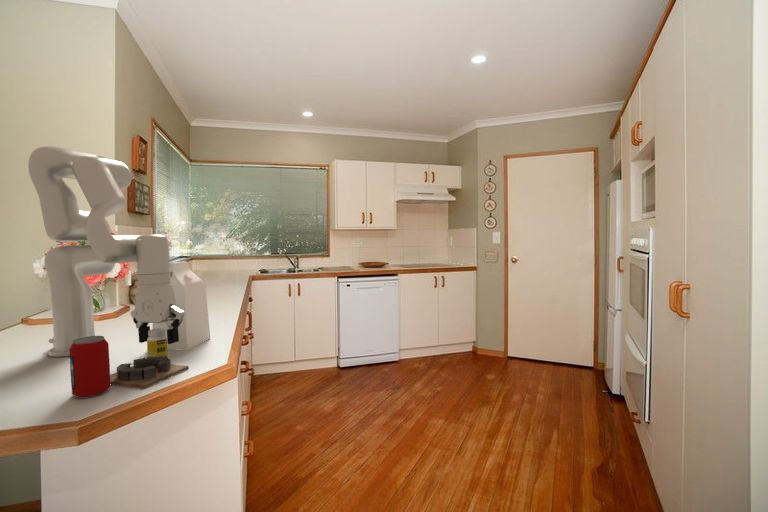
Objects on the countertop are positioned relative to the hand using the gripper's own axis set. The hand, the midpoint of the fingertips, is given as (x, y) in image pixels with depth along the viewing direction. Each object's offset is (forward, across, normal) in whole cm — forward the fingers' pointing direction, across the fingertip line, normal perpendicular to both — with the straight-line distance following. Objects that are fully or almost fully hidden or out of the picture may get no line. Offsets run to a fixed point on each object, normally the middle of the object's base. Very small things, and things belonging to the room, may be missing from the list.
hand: (159, 342), depth 105 cm
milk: (+5, -7, +15) cm, 17 cm away
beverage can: (+5, +4, -22) cm, 23 cm away
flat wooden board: (+5, +6, -10) cm, 13 cm away
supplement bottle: (+5, -1, 0) cm, 5 cm away
